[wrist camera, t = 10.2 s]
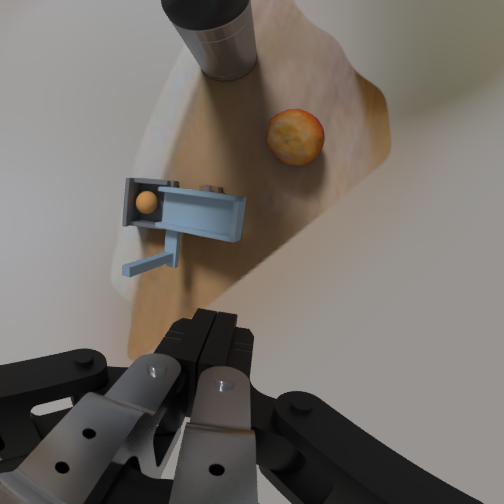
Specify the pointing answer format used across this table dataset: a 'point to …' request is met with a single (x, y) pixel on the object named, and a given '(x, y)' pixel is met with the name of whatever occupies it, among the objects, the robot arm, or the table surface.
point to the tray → (131, 193)
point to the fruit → (295, 137)
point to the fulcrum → (210, 189)
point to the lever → (193, 223)
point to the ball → (146, 202)
